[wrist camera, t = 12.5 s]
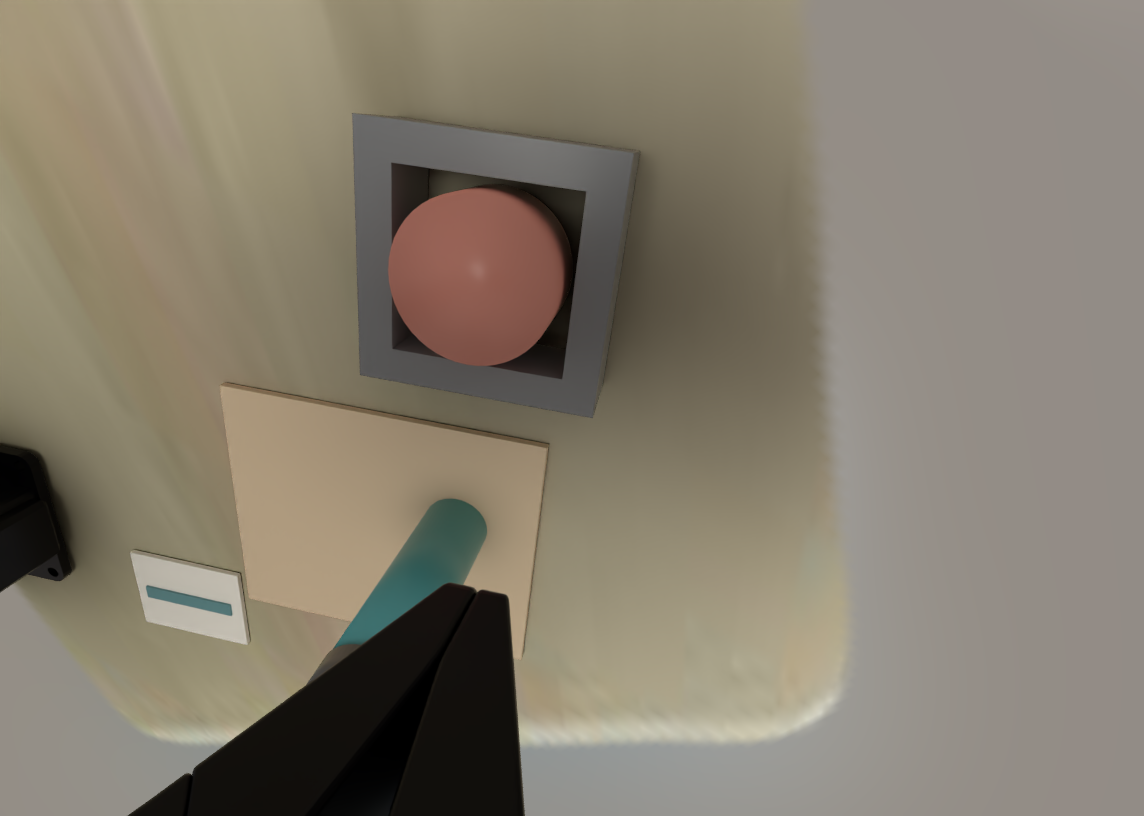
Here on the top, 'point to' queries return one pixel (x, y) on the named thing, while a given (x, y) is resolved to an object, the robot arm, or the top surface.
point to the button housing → (410, 147)
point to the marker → (417, 571)
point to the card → (191, 596)
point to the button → (480, 273)
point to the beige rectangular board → (370, 499)
